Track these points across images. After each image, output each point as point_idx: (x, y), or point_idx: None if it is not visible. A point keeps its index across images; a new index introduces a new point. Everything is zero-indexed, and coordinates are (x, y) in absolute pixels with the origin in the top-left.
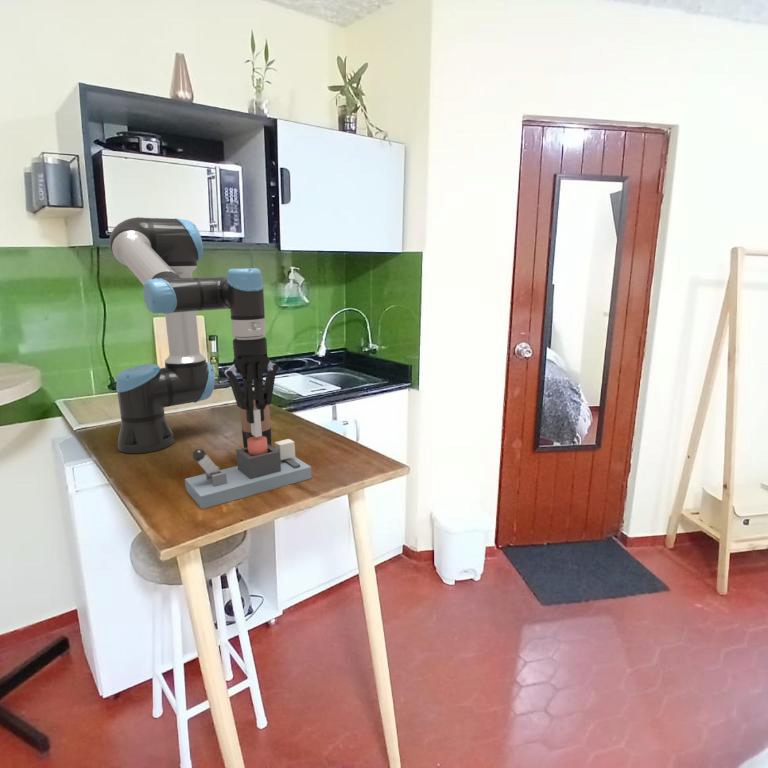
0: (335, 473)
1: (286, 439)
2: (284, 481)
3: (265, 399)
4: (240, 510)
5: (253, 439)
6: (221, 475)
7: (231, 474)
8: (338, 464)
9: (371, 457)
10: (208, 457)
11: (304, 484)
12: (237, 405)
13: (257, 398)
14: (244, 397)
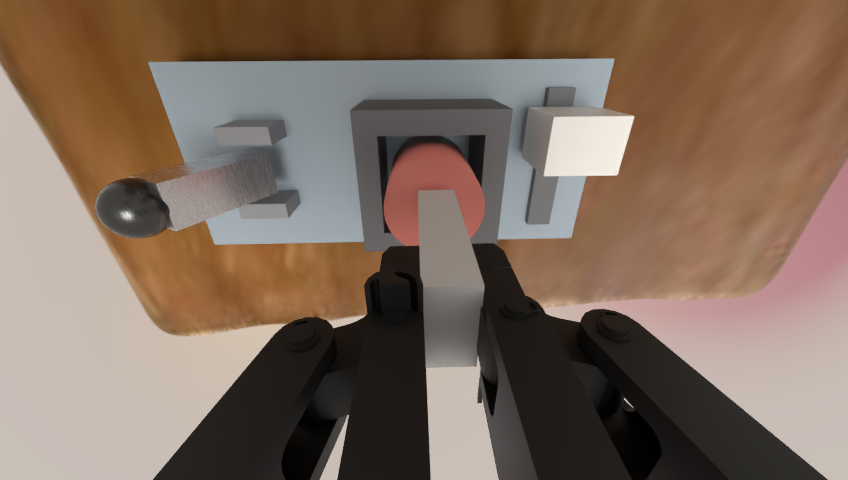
0: (624, 230)
1: (618, 117)
2: None
3: (597, 394)
4: (323, 280)
5: (416, 207)
6: (272, 216)
7: (329, 139)
8: (687, 177)
9: (797, 190)
10: (191, 224)
11: (515, 243)
12: (272, 339)
13: (501, 439)
14: (349, 418)
